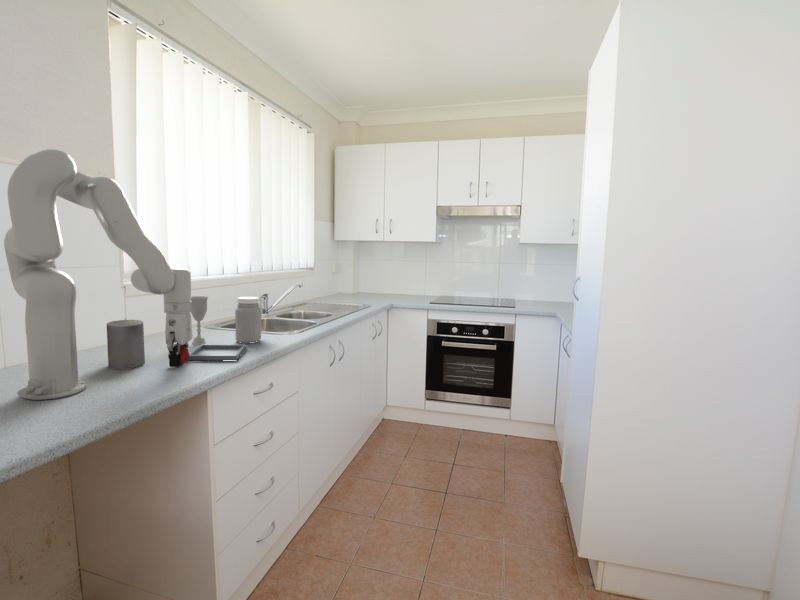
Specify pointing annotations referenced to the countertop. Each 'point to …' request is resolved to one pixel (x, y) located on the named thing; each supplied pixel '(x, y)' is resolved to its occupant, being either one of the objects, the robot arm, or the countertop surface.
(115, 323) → the pillar candle
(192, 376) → the countertop surface
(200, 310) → the chalice
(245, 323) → the jar
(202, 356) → the tray
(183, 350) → the onion
